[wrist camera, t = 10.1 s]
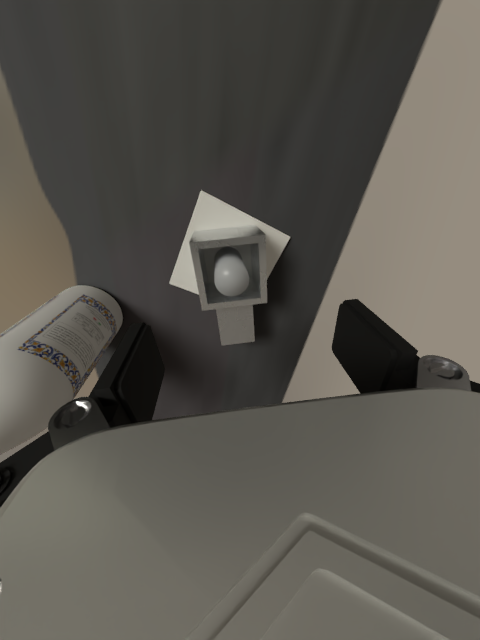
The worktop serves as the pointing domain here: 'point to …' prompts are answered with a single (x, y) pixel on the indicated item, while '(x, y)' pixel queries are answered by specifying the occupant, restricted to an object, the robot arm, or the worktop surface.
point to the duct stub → (224, 249)
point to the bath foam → (51, 358)
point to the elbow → (237, 309)
